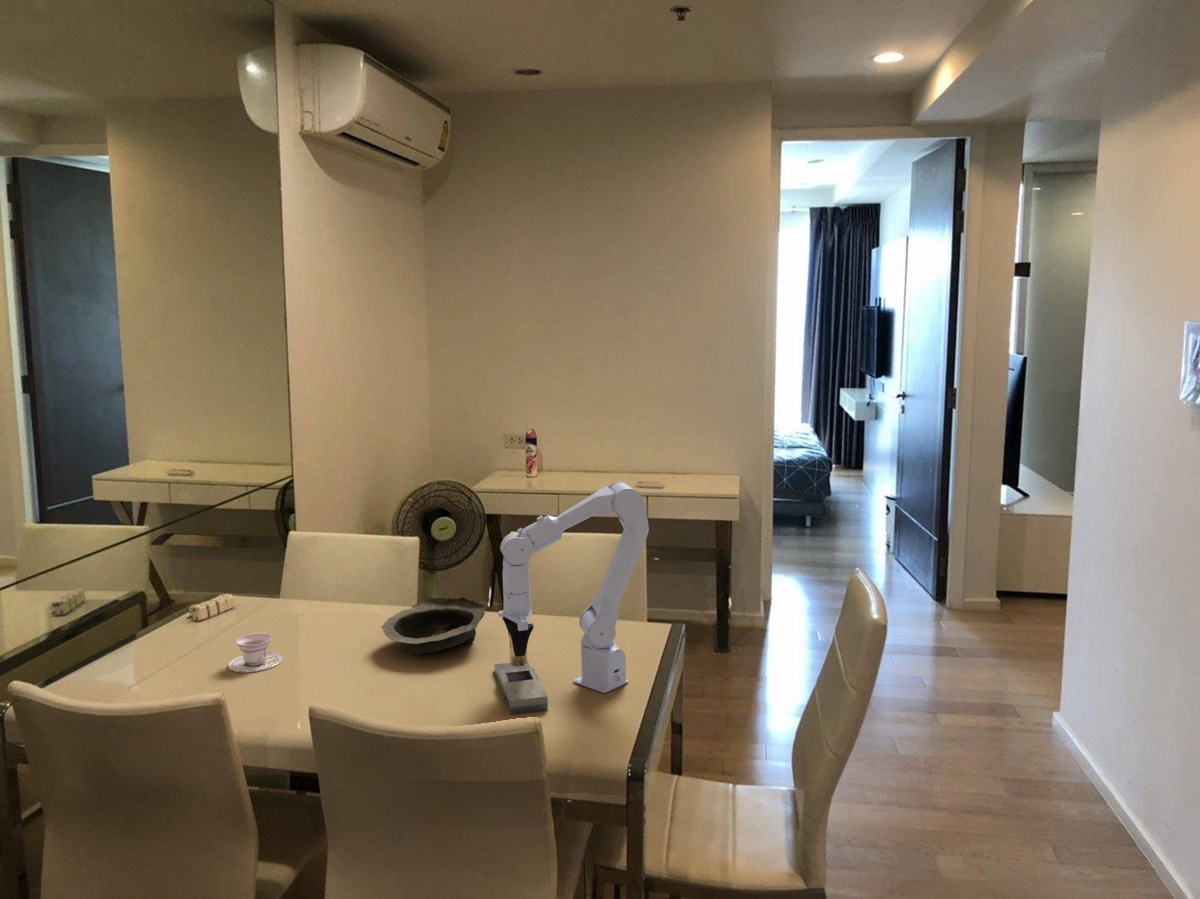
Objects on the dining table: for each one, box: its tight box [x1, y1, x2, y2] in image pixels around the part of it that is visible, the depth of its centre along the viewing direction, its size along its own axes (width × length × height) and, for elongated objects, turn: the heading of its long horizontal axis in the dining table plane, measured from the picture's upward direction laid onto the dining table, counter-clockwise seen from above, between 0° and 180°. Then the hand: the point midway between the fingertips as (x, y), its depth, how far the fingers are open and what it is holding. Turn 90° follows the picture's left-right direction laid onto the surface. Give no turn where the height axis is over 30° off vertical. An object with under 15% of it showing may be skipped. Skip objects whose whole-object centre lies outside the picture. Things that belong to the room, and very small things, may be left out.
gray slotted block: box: [493, 660, 549, 716], centre depth 198 cm, size 24×8×3 cm, turn 14°
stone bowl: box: [380, 597, 486, 656], centre depth 225 cm, size 25×25×9 cm
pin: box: [508, 633, 528, 666], centre depth 197 cm, size 4×4×8 cm
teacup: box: [227, 632, 283, 674], centre depth 215 cm, size 12×12×6 cm
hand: (518, 652), depth 197 cm, fingers closed on pin, 4 cm apart
